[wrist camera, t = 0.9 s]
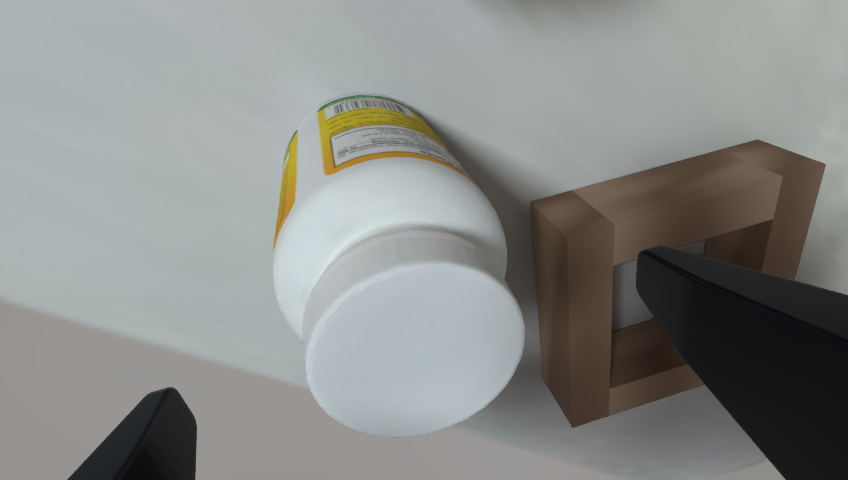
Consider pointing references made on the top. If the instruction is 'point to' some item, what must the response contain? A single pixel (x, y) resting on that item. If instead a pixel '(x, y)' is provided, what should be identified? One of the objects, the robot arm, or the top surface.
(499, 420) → the top surface
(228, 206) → the top surface
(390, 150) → the supplement bottle
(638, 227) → the socket block
